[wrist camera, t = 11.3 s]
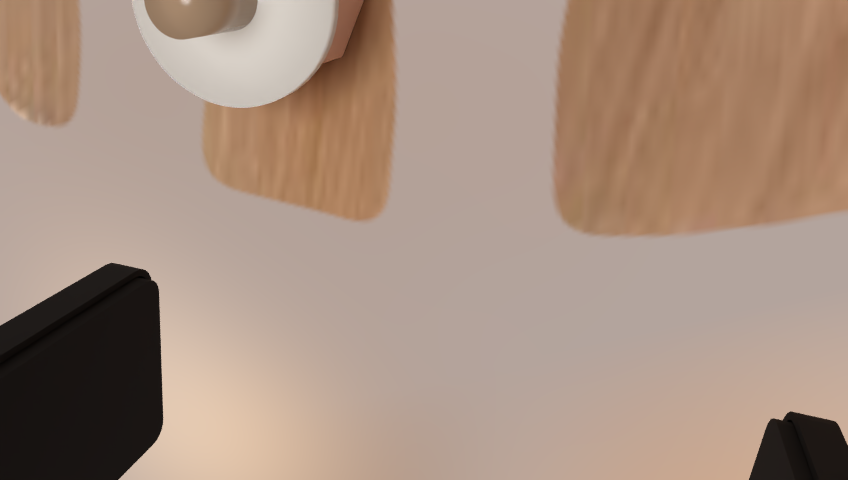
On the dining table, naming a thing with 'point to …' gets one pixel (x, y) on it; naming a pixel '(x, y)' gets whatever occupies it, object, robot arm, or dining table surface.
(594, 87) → the dining table surface
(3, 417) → the robot arm
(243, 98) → the lid
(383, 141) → the dining table surface
